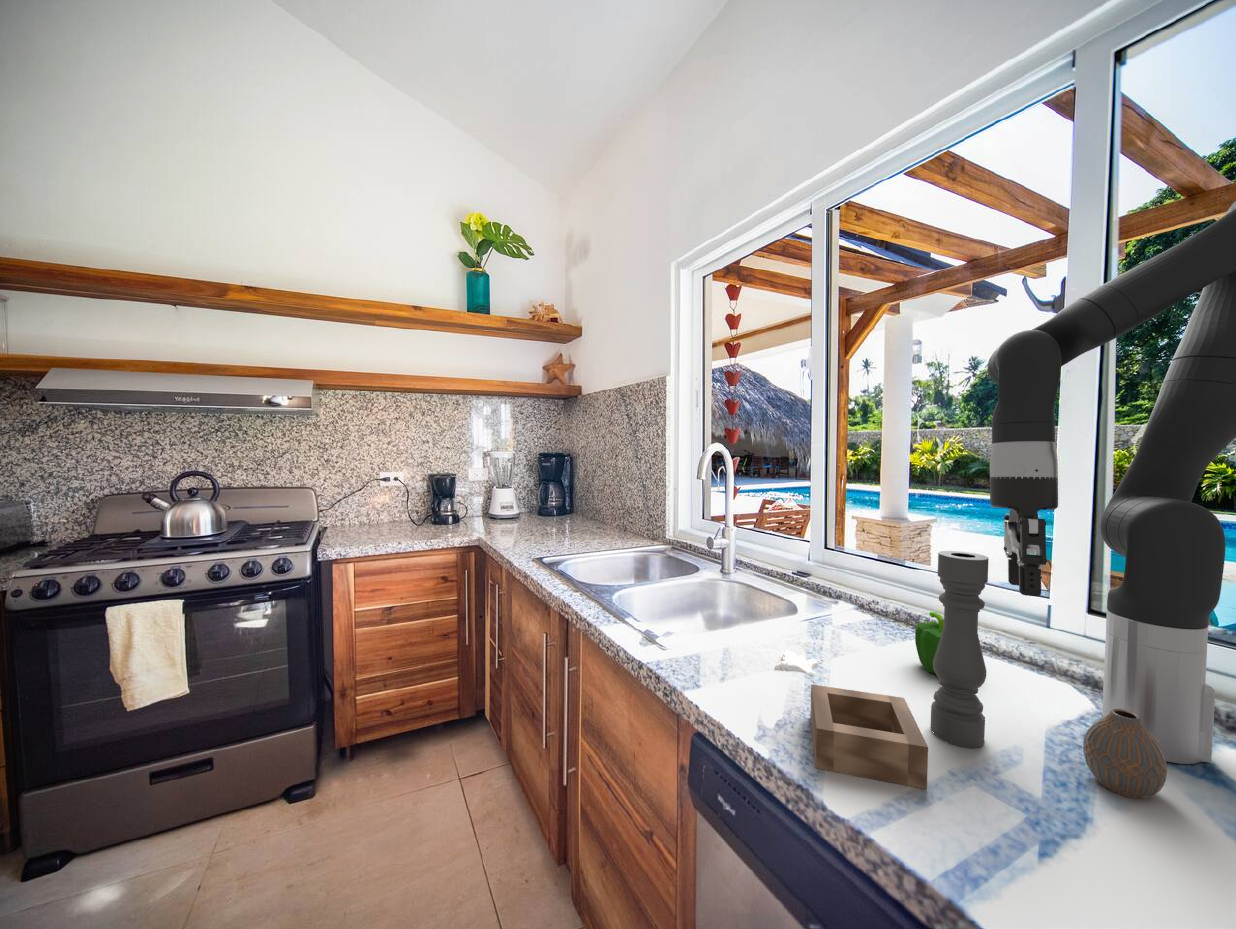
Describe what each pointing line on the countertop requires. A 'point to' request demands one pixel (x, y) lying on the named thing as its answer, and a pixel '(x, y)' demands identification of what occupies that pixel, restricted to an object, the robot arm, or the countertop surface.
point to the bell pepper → (928, 640)
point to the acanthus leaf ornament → (797, 663)
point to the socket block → (867, 736)
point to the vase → (1125, 755)
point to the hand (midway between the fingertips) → (1023, 589)
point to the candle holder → (960, 651)
